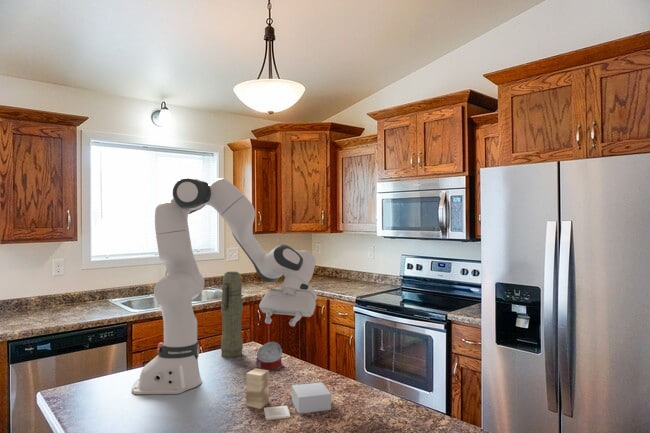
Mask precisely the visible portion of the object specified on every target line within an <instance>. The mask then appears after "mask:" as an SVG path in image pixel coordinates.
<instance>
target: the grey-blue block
mask: <svg viewBox="0 0 650 433" xmlns="http://www.w3.org/2000/svg"><path fill="white" fill-rule="evenodd" d="M291 402H292V404H293V406H294V407H295V409H296V412H297V414H307V413H315V412H323V411H325V412H326V411H331V410H332V393H331V392H330V391H329V389H328V388H327V387H326V386H325V383H323V382H321V381H320V382H312V383H303V384H302V383H301V384H292V385H291Z"/></svg>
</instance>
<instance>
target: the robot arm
mask: <svg viewBox="0 0 650 433" xmlns="http://www.w3.org/2000/svg"><path fill="white" fill-rule="evenodd" d="M205 206H210V207H212V209H213V210H215V211H216V212H217V213H218V214H219V215H220V216H221V217H222V219H224V221H225V222H226V223H227V226H228V227H229V229H230V231H231V234H232V236H233V237H234V239H235V241H236V243H237V244H238V245H239V247H240V248H241V249H242V250H243V252H244V253H245V255H246V256H247V257H248V259H249V260H250V262H251V263H252V264H253V268H255V271H256V273H257V274H256V275H258V277H259V278H260V279H261V280H263V281H264V282H267V283H275V282H277V281H278V280H279V279H281V277H282V276H283V277H284V280H283V282H282V285H281V287H280V289H279V288H278V289H274V288H272V289H270V290H268V291H266V292H265V294H264V296H263V298H262V299H261V300H260V302H259V305H258V307H259V310H260V311H261V312H262V313H263V314H265V320H264V323H265V324H268V325H270V324H271V323H272V321H273V319H272V318H271V316H272V315H273V314H275V315H284V316H294V317H293V318H290V320H289V322H288V324H289V326H290V327H295V326H296V325H297V323H298V321H300V320H301V319H302V317H306V318H307V317H308V318H310V317H312V316H313V315H314V313H315V310H316V306H317V302H316V301H317V299H318V295H317V293H316V290H315V289H314V287H313V286H311V285H309V282H310V281H311V280H312V277H313V274H314V272H315V268H316V258H315V256H314V255H313V254H312V252H310V251H308V250H304V249H301V250H299V249H298V250H297V249H295V248H292V247H291V246H289V245H287V244H278V245H277V246H275V247H274V248H272V250H270V251H269V253H267V252H266V251H265V249H264V248H262V246H261V245H260V243H259V242H258V240H257V239H256V238H255V235H254V233H253V225H254V222H255V218H256V211H255V208H254V205H253V204H252V202H251V201H250V200H249V198H248V197H246V196H245V194H244V192H242V191H241V190H240V189H239V188H238V187H236V185H234V184H233V183H232V182H230V181H229V180H228V179H226V178H225V177H224V178H223V177H221V178H217V179H214V180H213V181H212V182H210V183H208V182H207V181H203V180H200V179H197V178H195V177H189V176H188V177H183V178H181V179H179V180H178V181H177V182H176V183H175V184H174V185H173V188H172V199H171V200H167V201H163V202H160V204H158V205H157V206H156V208H155V211H154V229H155V230H154V231H155V238H156V242H157V243H156V244H157V251H158V257H159V259H160V260H161V262H162V263H163V264H164V266H165V269H166V271H167V274H166V275H165V276H163V277H162V278H161V279H159V280H158V281H157V282H156V284H155V285H154V288H153V298H154V299H155V301H156V302H157V304H158V305H159V307H160V311H161V316H162V320H163V342H161V341H160V342H159V343H158V345H157V350H156V351H157V355H156V356H155V357H154V358H153V359H151V360H150V361H148V363H146V364H145V365H144V366H143V368H142V369H141V371H140V375H139V379H137V380H136V381H135V382H133V384H132V387H131V392H132V393H133V394H134V395H177V394H181V393H184V392H185V391H188V390H190V389H193V388H197V387H199V385H201V383H202V382H203V380H202V377H201V372H200V367H199V354H200V353H199V352H200V346H199V341H198V319H197V317H196V316H195V313H194V309H193V308H194V307H193V302H192V301H193V300H194V299H196V298H198V296H200V294H201V293H202V292H203V290H204V288H205V284H206V282H205V278H204V276H203V274H202V273H201V272H200V269H199V267H198V264H197V262H196V259H195V255H194V253H193V248H192V242H191V235H190V230H189V222H188V217H189V215H191V214H193V213H194V212H197V211H199V210H201V209H203V208H204V207H205Z"/></svg>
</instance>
